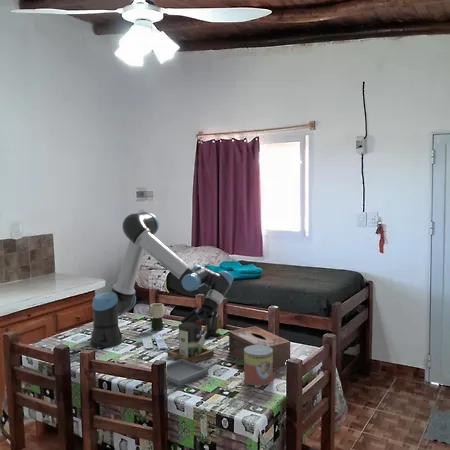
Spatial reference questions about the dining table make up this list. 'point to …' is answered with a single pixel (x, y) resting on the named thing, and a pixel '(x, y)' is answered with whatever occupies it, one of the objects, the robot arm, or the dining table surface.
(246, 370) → the canned food
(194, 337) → the coffee can
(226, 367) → the dining table surface
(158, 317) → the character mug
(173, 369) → the tray
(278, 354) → the tissue box cover
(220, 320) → the potato
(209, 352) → the holder frame
